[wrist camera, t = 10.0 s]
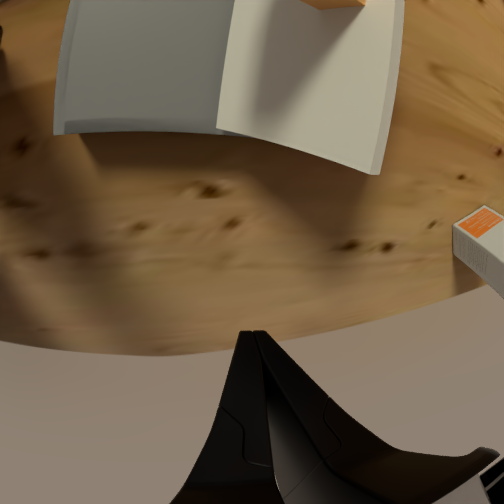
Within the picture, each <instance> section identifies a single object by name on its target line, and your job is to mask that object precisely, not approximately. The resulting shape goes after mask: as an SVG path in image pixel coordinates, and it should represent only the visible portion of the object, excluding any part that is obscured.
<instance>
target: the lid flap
mask: <svg viewBox="0 0 504 504" xmlns="http://www.w3.org/2000/svg"><path fill="white" fill-rule="evenodd" d="M403 21H404V0H235V2H234V8H233V13H232V19H231V25H230V31H229V37H228V43H227V50H226V56H225V63H224V70H223V77H222V84H221V92H220V99H219V107H218V115H217V124H216V128H218V129H222V130H226V131H231V132H235V133H239V134H243V135H247V136H251V137H255V138H259V139H262V140H266V141H270V142H273V143H277V144H280V145H284V146H287V147H291V148H294V149H297V150H301V151H304V152H307V153H310V154H313V155H316V156H319V157H322V158H325V159H328V160H331V161H334V162H337V163H340V164H343V165H346V166H348V167H351V168H354V169H357V170H359V171H362V172H364V173H367V174H371V175H379V174H380V170H381V166H382V161H383V157H384V152H385V148H386V143H387V138H388V133H389V128H390V123H391V117H392V111H393V106H394V99H395V93H396V86H397V79H398V72H399V64H400V55H401V45H402V34H403Z"/></svg>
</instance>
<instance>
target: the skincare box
mask: <svg viewBox="0 0 504 504" xmlns="http://www.w3.org/2000/svg"><path fill="white" fill-rule="evenodd" d="M452 228H453V254H454V255H455V256H456V257H458V258H459V259H460V260H461V261H462V262H463V263H465V264H466V265H467V266H468V267H469V268H470V269H472V270H473V271H474V272H475V273H476V274H477V275H478V276H480V277H481V278H482V279H483V280H484V281H485V282H486V283H487V284H488V285H490V286H491V287H492V288H493V289H494V290H495V291H496V292H497V293H498V294H499V295H500V296H501V297H502V298H503V299H504V217H503V216H502V215H500V214H498V213H497V212H495V211H494V210H492V209H490V208H489V207H487V206H485V205H483V206H482V207H481V208H479V209H478V210H476V211H475V212H473V213H472V214H470V215H468V216H467V217H465V218H463V219H462V220H460V221H458V222H456V223H455V224H453V225H452Z"/></svg>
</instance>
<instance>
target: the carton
mask: <svg viewBox="0 0 504 504" xmlns="http://www.w3.org/2000/svg"><path fill="white" fill-rule="evenodd" d="M234 2H235V0H71V1H70V5H69V9H68V13H67V17H66V22H65V26H64V31H63V36H62V42H61V48H60V54H59V61H58V69H57V78H56V88H55V102H54V126H53V135H63V134H76V133H92V132H120V131H159V132H188V133H205V134H219V135H230V136H241V137H250V138H255V137H251V136H247V135H243V134H239V133H235V132H231V131H226V130H222V129H218V128H216V124H217V115H218V107H219V99H220V92H221V84H222V77H223V70H224V63H225V56H226V50H227V43H228V37H229V31H230V25H231V19H232V13H233V8H234Z"/></svg>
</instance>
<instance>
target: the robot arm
mask: <svg viewBox="0 0 504 504" xmlns="http://www.w3.org/2000/svg"><path fill="white" fill-rule="evenodd" d="M499 455H500V454H499V453H498V452H497V451H495V450H493V449H489V448H485V447H479V448H477V449H476V450H474V451H473V452H471V453H470V454H468V455H464V456H459V457H450V456H439V455H430V454H422V453H415V452H408V451H402V450H400V449H397V448H394V447H392V446H391V445H389V444H387V443H386V442H384V441H383V440H381V439H380V438H379V437H377V436H376V435H375V434H373V433H372V432H371V431H369V430H368V429H367V428H365V427H364V426H363V425H361V424H360V423H359V422H357V421H356V420H355V419H354V418H352V417H351V416H350V415H349V414H347V413H346V412H345V411H344V410H343V409H342V408H341V407H340V406H339V405H338V404H337V403H335V402H334V400H333V399H332V398H330V397H329V396H328V395H327V394H326V393H325V392H324V391H323V390H322V389H321V388H320V387H319V386H318V385H317V384H316V383H315V382H314V381H313V380H312V379H311V378H310V377H309V376H308V375H307V374H306V373H305V372H304V371H303V369H302V368H301V367H299V365H298V364H296V362H295V361H294V360H293V359H292V358H291V357H290V356H289V355H288V354H287V353H286V352H285V351H284V350H283V349H282V348H281V347H280V346H279V345H278V344H277V343H276V341H275V340H274V339H273V338H272V337H271V336H270V335H269V334H268V333H267V332H266V331H264V330H255V331H253V332H252V331H240V332H239V335H238V339H237V343H236V346H235V350H234V353H233V357H232V360H231V364H230V368H229V371H228V375H227V379H226V382H225V385H224V389H223V393H222V396H221V400H220V403H219V407H218V410H217V413H216V416H215V420H214V422H213V426H212V428H211V431H210V433H209V436H208V438H207V440H206V442H205V445H204V447H203V449H202V451H201V453H200V455H199V457H198V459H197V461H196V463H195V465H194V467H193V469H192V471H191V472H190V474H189V476H188V478H187V480H186V482H185V483H184V485H183V487H182V488H181V490H180V491H179V492H178V494H177V495H176V496H175V498H174V499H173V500H172V501H171V503H170V504H504V457H503V458H502V459H501V460H500V461H498V462H497V463H496V464H495V465H493V466H492V467H491V468H489V469H488V470H486V471H485V472H484V473H482V474H481V475H480V476H479V475H478V473H479V472H480V471H481V470H483V469H484V468H485V467H486V466H488V465H489V464H490V463H491V462H493V461H494V460H495V459H496V458H497V457H499ZM274 472H275V474H274ZM275 476H276V479H277V483H278V486H279V489H278V487H277V484H276V480H275ZM279 490H280V491H279ZM280 493H281V494H280Z"/></svg>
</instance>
